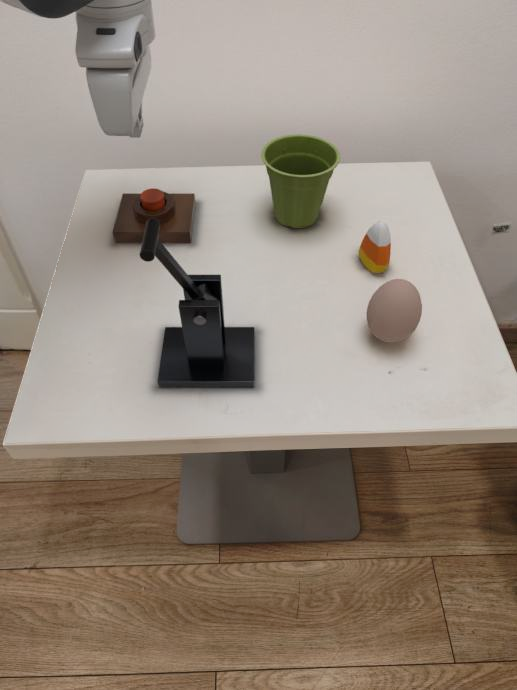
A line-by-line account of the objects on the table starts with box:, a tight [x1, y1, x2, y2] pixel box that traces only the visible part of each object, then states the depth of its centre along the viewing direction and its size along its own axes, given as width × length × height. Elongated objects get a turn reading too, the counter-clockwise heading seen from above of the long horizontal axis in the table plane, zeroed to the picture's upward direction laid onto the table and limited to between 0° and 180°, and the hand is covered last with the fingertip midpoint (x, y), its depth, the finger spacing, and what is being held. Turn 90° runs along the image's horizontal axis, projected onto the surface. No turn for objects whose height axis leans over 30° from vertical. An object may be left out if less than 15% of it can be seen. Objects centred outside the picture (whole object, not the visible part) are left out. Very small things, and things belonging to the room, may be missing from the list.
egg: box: [366, 278, 423, 343], centre depth 66 cm, size 7×7×10 cm
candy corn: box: [358, 220, 392, 274], centre depth 76 cm, size 6×3×8 cm, turn 25°
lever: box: [139, 218, 217, 300], centre depth 56 cm, size 12×5×2 cm
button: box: [140, 188, 165, 211], centre depth 81 cm, size 4×4×2 cm
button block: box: [112, 190, 197, 244], centre depth 83 cm, size 12×10×4 cm
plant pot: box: [261, 133, 341, 229], centre depth 82 cm, size 12×12×11 cm
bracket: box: [157, 274, 255, 388], centre depth 63 cm, size 12×9×13 cm
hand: (136, 132), depth 72 cm, fingers closed
